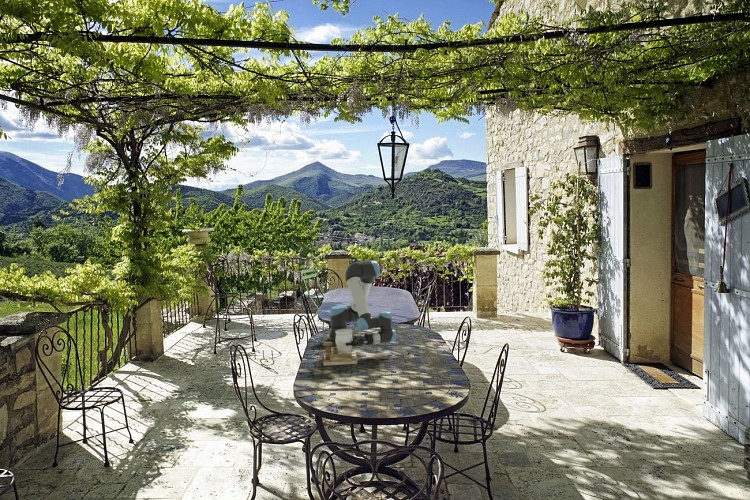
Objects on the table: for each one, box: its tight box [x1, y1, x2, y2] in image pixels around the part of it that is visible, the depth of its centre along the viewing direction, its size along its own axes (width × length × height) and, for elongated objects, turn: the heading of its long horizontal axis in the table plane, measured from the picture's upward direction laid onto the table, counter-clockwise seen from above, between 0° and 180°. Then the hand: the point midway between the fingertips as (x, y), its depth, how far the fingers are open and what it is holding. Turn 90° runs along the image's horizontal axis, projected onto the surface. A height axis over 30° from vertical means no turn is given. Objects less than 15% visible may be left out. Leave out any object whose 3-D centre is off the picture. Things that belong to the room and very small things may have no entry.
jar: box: [335, 328, 353, 354], centre depth 325 cm, size 11×10×15 cm
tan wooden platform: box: [322, 341, 358, 367], centre depth 324 cm, size 22×20×12 cm
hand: (337, 342), depth 324 cm, fingers closed on jar, 10 cm apart
